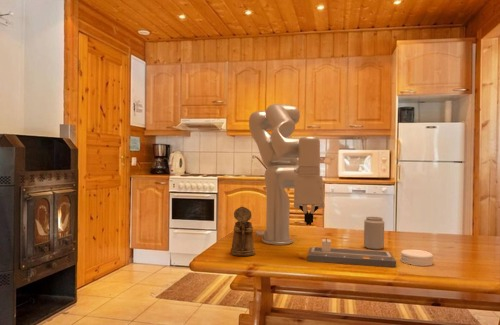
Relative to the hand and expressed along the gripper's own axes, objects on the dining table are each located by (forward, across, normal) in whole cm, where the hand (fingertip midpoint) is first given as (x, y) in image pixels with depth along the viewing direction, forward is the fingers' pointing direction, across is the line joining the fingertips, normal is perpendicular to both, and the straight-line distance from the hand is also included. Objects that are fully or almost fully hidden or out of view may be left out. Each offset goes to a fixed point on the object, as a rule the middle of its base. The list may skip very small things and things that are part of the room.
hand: (308, 224), depth 132 cm
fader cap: (+9, +6, +1) cm, 11 cm away
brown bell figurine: (+11, -23, -3) cm, 26 cm away
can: (+12, +24, +22) cm, 34 cm away
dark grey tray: (+12, +14, +1) cm, 18 cm away
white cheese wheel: (+12, +36, +4) cm, 38 cm away
